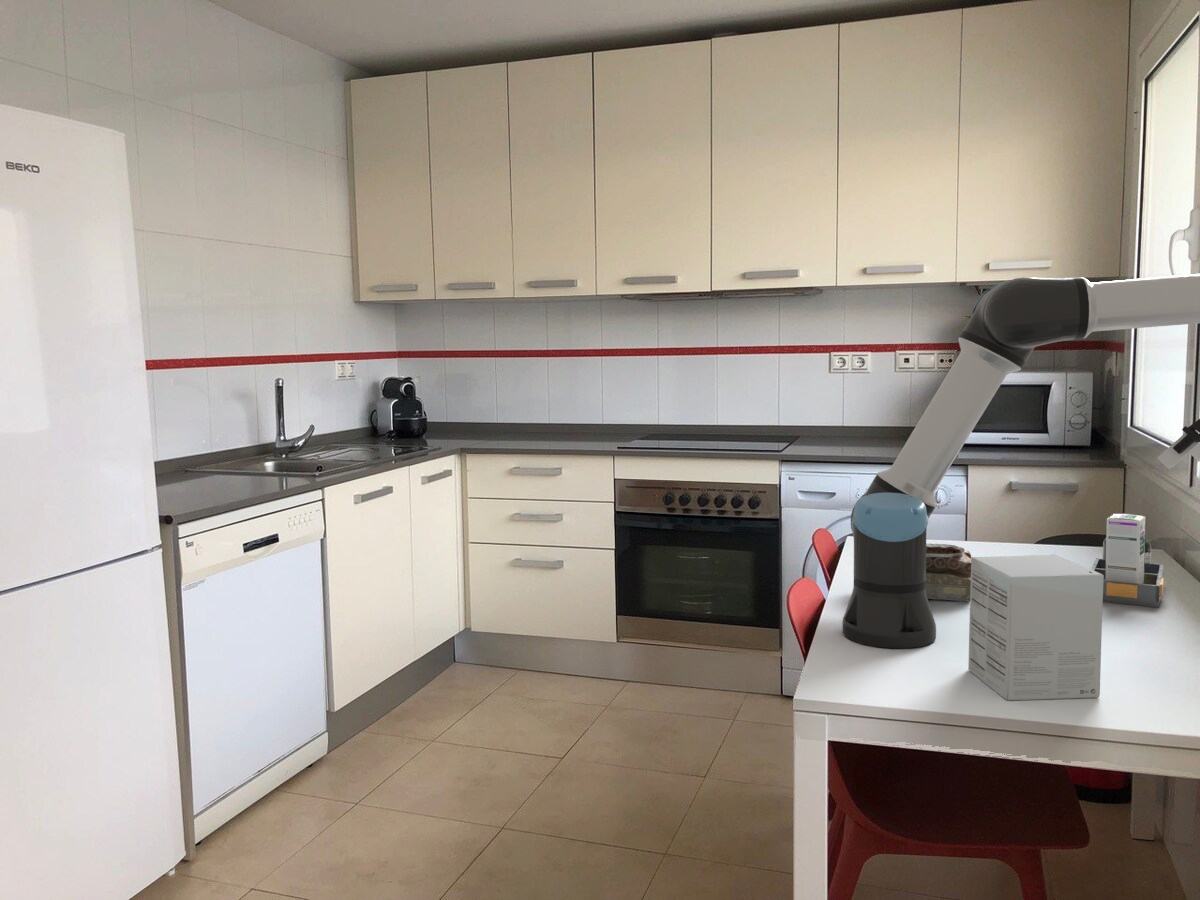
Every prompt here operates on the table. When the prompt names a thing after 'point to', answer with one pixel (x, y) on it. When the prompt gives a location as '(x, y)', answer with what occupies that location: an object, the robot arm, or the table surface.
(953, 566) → the decorative box
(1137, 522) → the syrup box
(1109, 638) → the table surface
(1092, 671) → the supplement box
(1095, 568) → the grey divided tray
